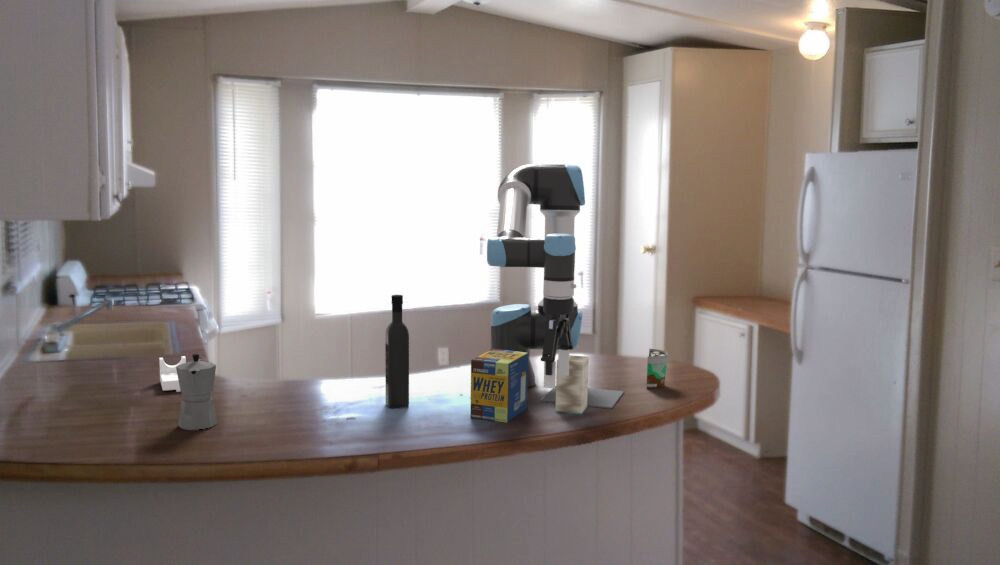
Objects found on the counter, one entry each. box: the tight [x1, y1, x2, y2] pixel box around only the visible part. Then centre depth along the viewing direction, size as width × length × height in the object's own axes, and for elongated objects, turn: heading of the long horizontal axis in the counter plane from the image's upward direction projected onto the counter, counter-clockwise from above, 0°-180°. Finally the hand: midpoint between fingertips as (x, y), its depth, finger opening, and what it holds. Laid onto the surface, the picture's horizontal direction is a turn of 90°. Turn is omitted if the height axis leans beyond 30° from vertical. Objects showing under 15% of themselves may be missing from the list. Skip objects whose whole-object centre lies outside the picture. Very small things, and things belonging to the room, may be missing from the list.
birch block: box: [555, 354, 590, 415], centre depth 246 cm, size 7×7×14 cm
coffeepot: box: [176, 353, 218, 431], centre depth 228 cm, size 15×9×18 cm, turn 13°
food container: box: [646, 348, 670, 390], centre depth 273 cm, size 12×6×10 cm, turn 168°
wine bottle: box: [384, 294, 410, 409], centre depth 246 cm, size 6×6×30 cm
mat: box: [539, 385, 625, 410], centre depth 260 cm, size 20×18×1 cm
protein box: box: [470, 348, 528, 424], centre depth 242 cm, size 10×15×16 cm
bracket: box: [158, 355, 187, 393], centre depth 265 cm, size 13×7×8 cm, turn 23°
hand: (556, 381), depth 230 cm, fingers open, 13 cm apart
